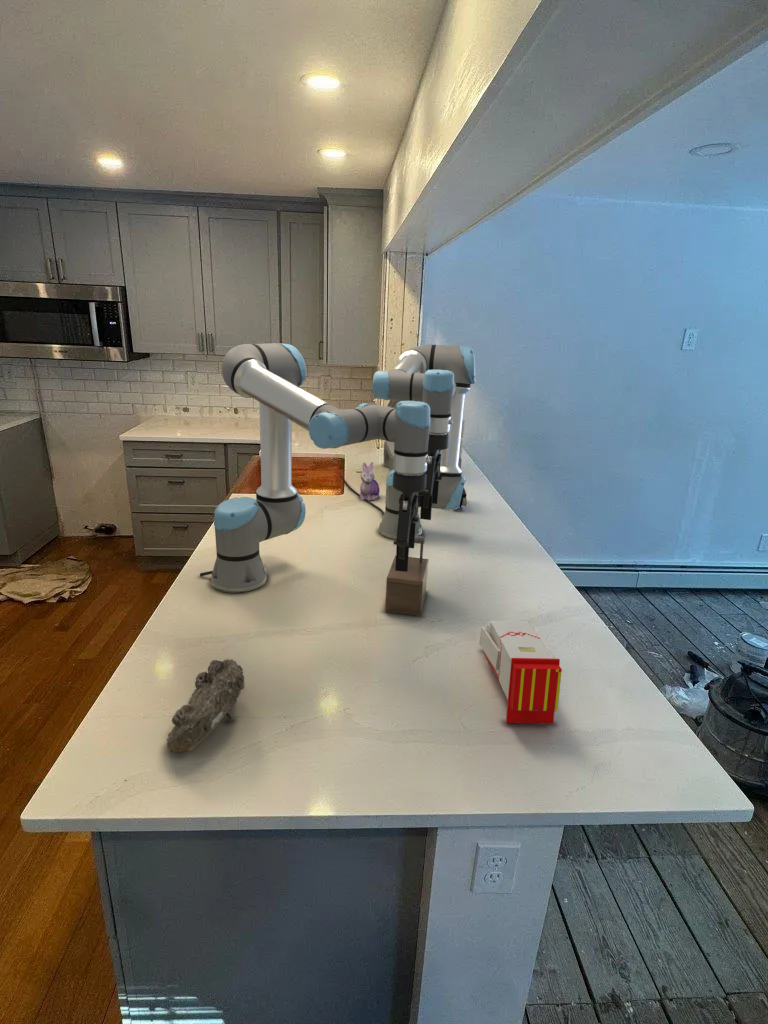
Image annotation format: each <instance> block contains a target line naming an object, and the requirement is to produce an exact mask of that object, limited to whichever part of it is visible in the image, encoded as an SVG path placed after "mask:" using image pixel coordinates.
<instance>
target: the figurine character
mask: <svg viewBox="0 0 768 1024" xmlns="http://www.w3.org/2000/svg"><path fill="white" fill-rule="evenodd" d="M467 503H468V498H467V492H466V489H465V487H464V488H463V492H462V496H461V501H460V505H459V507H458V508H457V509H460V511H463V507H464V508H465V507H467Z"/></svg>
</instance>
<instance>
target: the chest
mask: <svg viewBox="0 0 768 1024" xmlns="http://www.w3.org/2000/svg"><path fill="white" fill-rule="evenodd" d="M428 568H429V565H428V566H427V570H426V574H425V578H424V582H423V586H418V585H410V584H401V583H393V582H387V581H386V586H385V604H384V605H385V607H384V612H386V613H393V614H400V615H408V616H409V615H410V616H418V617H421V615H422V611H423V608H424V607H423V606H424V602H425V598H426V594H427V593H426V592H427V584H428Z"/></svg>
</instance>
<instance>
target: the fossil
mask: <svg viewBox="0 0 768 1024" xmlns="http://www.w3.org/2000/svg"><path fill="white" fill-rule="evenodd" d="M243 670H244V669H243V667H242V665H240V664H237V662H236V661H235V660H234V659H232V658H231V659H227V658H226V659H224V660H223V661H222V660H217V659H212V660H211V661H210V663H209V665H208V666H207V671H201V672H199V673H198V674H197V675H196V676H195V680H194V684H195V685H194V687H195V689H194V690H193V693H192V694H191V697H190V698H189V700H188V704H184V705H182V706H181V707H180V709H177V710H176V711H175V713H174V715H173V716H172V718H171V723H172V724H173V727H172V730H171V731H170V732H168V734H167V738H166V741H167V742H166V745H167V749H168V750H169V751H173V752H174V753H176V754H178V753H182V752H188V751H189V752H192V751H193V750H195V748H196V747H197V746H199V744H200V743H201V742H203V741H204V740H205V739H206V738H207V737H208V736H209V735H210V734H211V733H212V732H214V730H215V729H217V727H218V726H219V724H220V722H221V721H222V720H223V719H224V718H225V716H226V717H227V719H229V720H233V717H232V715H230V714H229V710H230V709H231V708H234V706H235V704H236V703H237V702H238V699H239V697H240V695H241V693H242V691H243V690H245V689H244V688H245V675H244V671H243Z"/></svg>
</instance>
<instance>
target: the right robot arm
mask: <svg viewBox="0 0 768 1024" xmlns="http://www.w3.org/2000/svg"><path fill="white" fill-rule="evenodd" d="M475 383H476V357H475V350H474V349H473V348H472V347H470V346H464V345H449V344H448V345H446V344H432V343H430V344H421V345H420V344H419V345H417V346H413V347H411V348H409V349H407V350H405V351H404V352H402V353H401V354H400V356H399V357H398V358H397V361H396V364H394V366H393V367H392V368H391V369H390V370H377V371H375V372H374V374H373V376H372V385H371V386H372V387H371V388H372V395H373V397H374V398H375V399H377V400H378V399H379V400H384V401H390V400H399V401H420V402H424V403H427V404H428V405H429V407H430V422H431V425H430V432H429V441H428V457H427V459H428V458H429V459H430V463H427V471H426V472H425V473H426V475H427V477H426V488H425V490H423V491H421V492H417V495H418V501H417V516H416V517H418V518H419V521H418V522H413V523H416V526H415V536H422V535H423V525H422V524H421V520H425V521H431V520H432V509H438V510H443V511H447V510H448V511H456V510H457V509H459V508H460V507H459V505H460V501H461V496H462V492H463V488H464V489H465V483H466V477H465V476H462V475H463V471H462V469H461V470H460V468H459V467H458V461H459V451H460V440H462V438H461V430H462V419H464V408H465V397H466V394H467V393H468V392H469V391H470V390H471V385H475ZM394 472H395V470H394V469H393V470H391V471H390V470H389V472H388V473H387V475H386V482H385V504H384V505H385V507H384V508H385V509H384V510H383V509H382V508H380V507H379V506H378V505H376V504H374V503H373V502H371V500H369V501H368V500H367V499H364V500H363V501H365V502H366V503H368V504H369V505H371V506H373V507H374V508H375V509H377V510H378V511H380V513H381V514H382V519H381V522H379V527H378V533H379V534H380V535H381V536H382V537H385V538H387V539H389V540H394V541H396V537H397V527H398V518H399V513H398V512H399V497H400V496H401V494H403V493H402V492H401V491H397V490H395V489H394V488H393V473H394ZM339 477H340V478H341V480H342V482H343V483H344V484H345V485H346V486H347V488H348V489H349V490H350V491H352V492H353V493H354V494H355V495H356V496H357V497H359V498H360V494H361V493H358V492H357V491H356V490H354V489H353V487H351V486H350V484H349V483H347V481H346V480H345V478H344V477H343V475H342V474H340V475H339ZM458 507H459V508H458ZM419 508H420V511H419ZM419 512H420V513H419Z"/></svg>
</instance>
